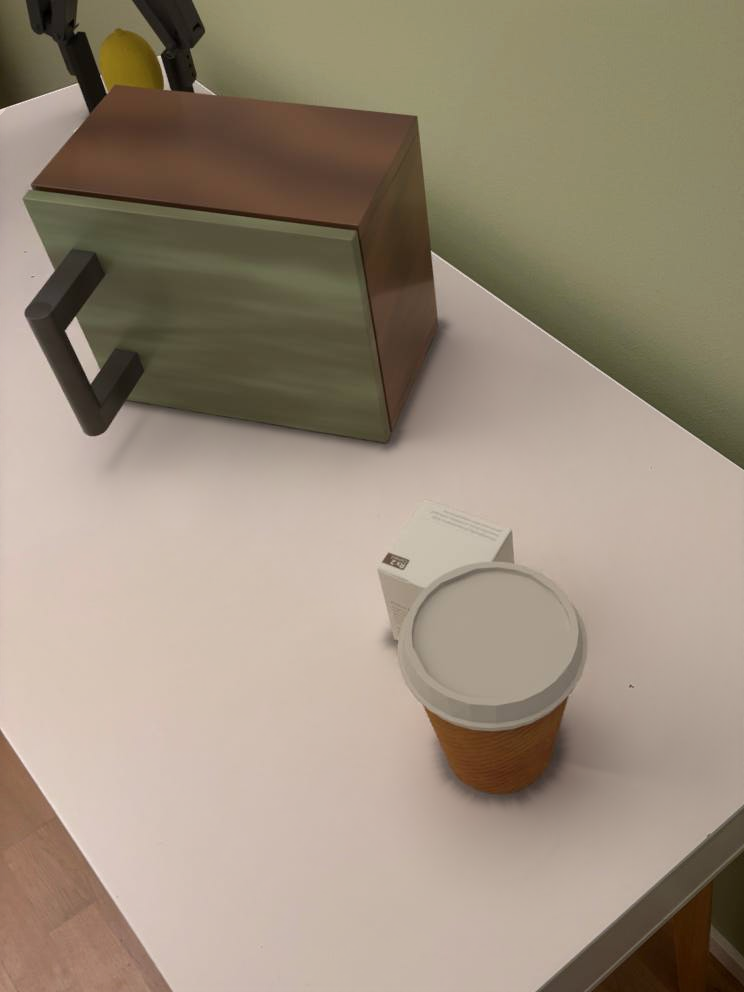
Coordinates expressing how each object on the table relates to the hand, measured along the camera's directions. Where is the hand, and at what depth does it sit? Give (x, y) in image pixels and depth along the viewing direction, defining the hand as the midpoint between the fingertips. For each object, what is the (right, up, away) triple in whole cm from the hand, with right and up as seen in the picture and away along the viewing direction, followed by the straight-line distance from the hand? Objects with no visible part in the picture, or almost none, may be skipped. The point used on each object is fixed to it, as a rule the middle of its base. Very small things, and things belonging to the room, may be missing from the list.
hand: (144, 112), depth 101 cm
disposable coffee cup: (+34, -58, -40) cm, 78 cm away
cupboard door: (+15, -38, -26) cm, 48 cm away
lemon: (0, 0, 0) cm, 0 cm away
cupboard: (+17, -29, -20) cm, 40 cm away
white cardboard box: (+31, -50, -35) cm, 69 cm away
